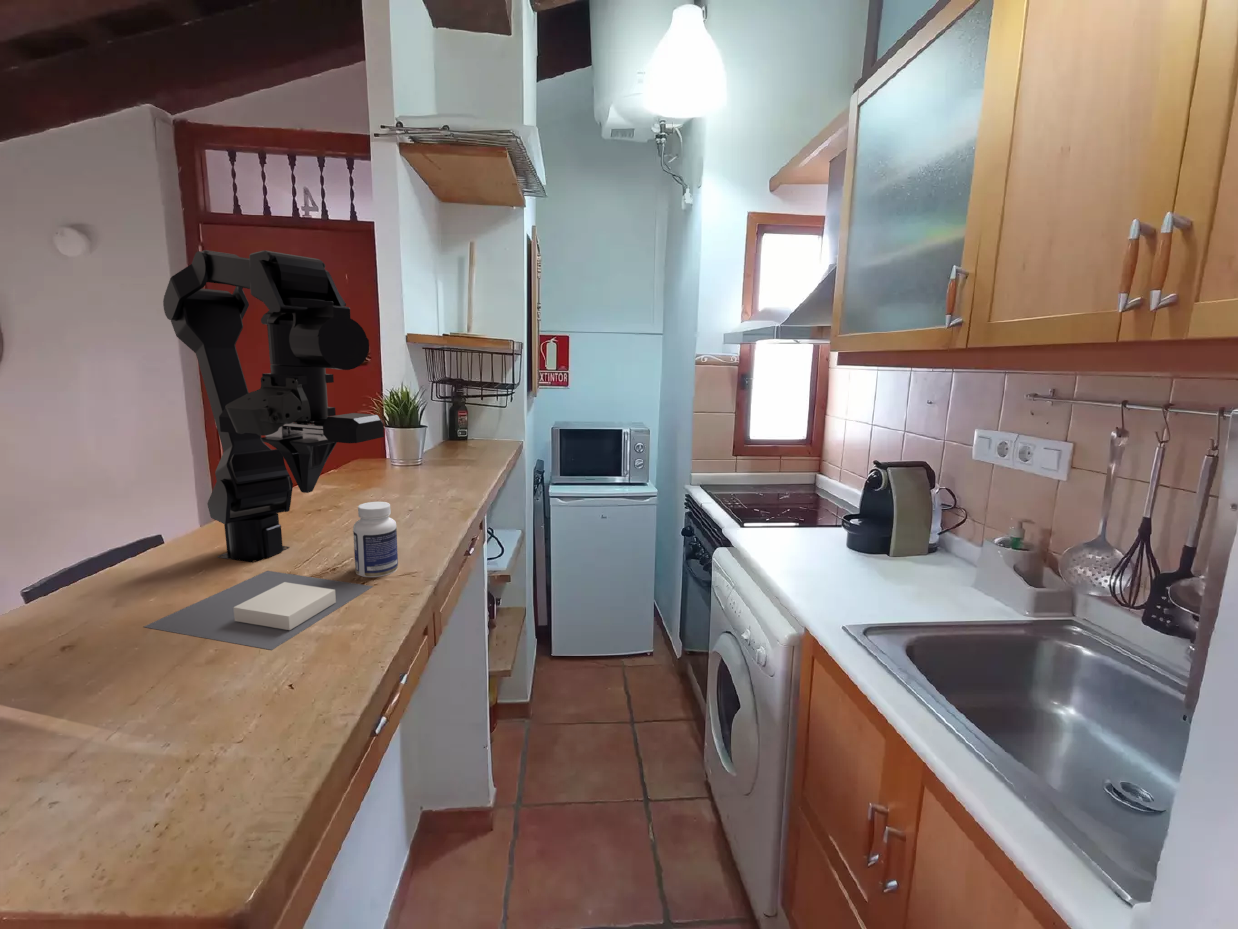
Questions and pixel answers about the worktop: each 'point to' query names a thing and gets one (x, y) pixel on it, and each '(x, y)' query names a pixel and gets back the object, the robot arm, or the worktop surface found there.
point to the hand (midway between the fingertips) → (307, 492)
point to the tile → (284, 605)
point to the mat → (219, 623)
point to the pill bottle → (375, 540)
